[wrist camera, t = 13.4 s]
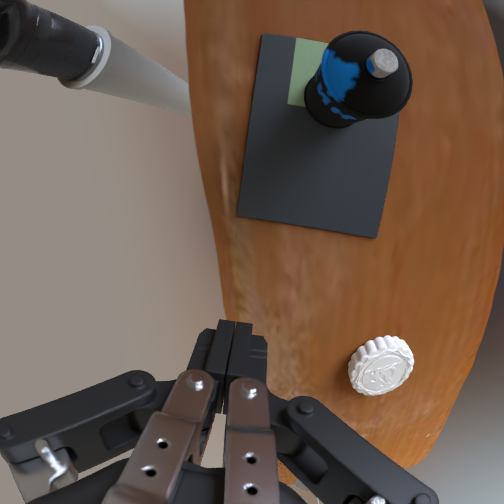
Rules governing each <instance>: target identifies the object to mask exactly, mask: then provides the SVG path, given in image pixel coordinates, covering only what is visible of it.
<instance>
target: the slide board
mask: <svg viewBox="0 0 504 504" xmlns="http://www.w3.org/2000/svg"><path fill="white" fill-rule="evenodd" d="M327 46H328V44H327V43H323V42H317V41H312V40H307V39H301V38H294V37H288V36H280V35H272V34H264V33H263V35H262V41H261V48H260V54H259V61H258V67H257V74H256V81H255V88H254V94H253V101H252V108H251V115H250V122H249V129H248V137H247V144H246V151H245V159H244V166H243V174H242V181H241V189H240V197H239V204H238V212H237V216H242V217H249V218H255V219H262V220H269V221H275V222H282V223H288V224H295V225H301V226H307V227H313V228H319V229H325V230H331V231H337V232H343V233H349V234H354V235H360V236H366V237H371V238H376V237H377V233H378V229H379V225H380V220H381V216H382V211H383V207H384V202H385V197H386V192H387V187H388V182H389V177H390V172H391V166H392V160H393V154H394V148H395V141H396V135H397V127H398V120H399V112H400V111H399V112H397V113H396V114H394V115H392V116H390V117H387V118H382V119H367V120H363V121H360V122H356V123H354V124H352V125H351V126H348V127H346V128H340V129H337V128H329V127H326V126H324V125H321V124H320V123H318V122H317V121H316V120H315V119H313V118H312V116H311V115H310V114H309V112H308V110H307V109H306V106H305V103H304V90H305V87H306V85H307V83H308V81H309V80H310V79H311V78H312V77H313V76H314V75H315V73H316V71H317V69H318V68H319V66H320V64H321V62H322V56H323V53H324V51H325V49H326V47H327Z"/></svg>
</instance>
